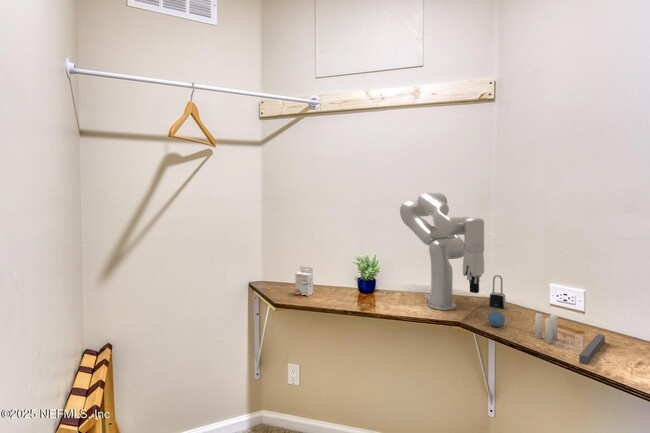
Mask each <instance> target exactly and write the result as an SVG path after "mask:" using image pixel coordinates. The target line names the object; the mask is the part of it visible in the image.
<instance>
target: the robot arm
mask: <svg viewBox="0 0 650 433" xmlns="http://www.w3.org/2000/svg"><path fill="white" fill-rule="evenodd" d="M449 212H450V209H449V206H448V199H447V197H446V195H445V194H444V193H441V192H423V193H422V194H420V195H418V198H417V200H408V201H405V202H403V203H402V204H401V205H400V208H399V214H400V218H401V220H402V222H403V224H405V225H406V226H407V227H408V228H409V230H411V231H412V232H413V233H414V234H415V236H417V238H418V239H419V240H420V241H421V242H422V243H423V244H424V245H425V246H428V252H429V258H430V273H431V274H430V294H429V293H424V299H425V300H428V302H427V306H428V307H429V308H430V309H433V310H439V311H451V310H455V309H456V308H457V305H456V303H454V302H453V266H452V264H451V262H450V260H454V259H456V260H457V259H461V258H463V259H462V276H464V277H466V280H468V282H469V292H470V293H473V294H479V293H480V281H481V280H480V278H481V277H482V276H483V274H484V273H485V257H484V256H485V255H484V253H485V220H484V219H482V218H479V217H478V218H477V217H474V218H473V217H467V216H464V217H463V216H458V217H457V216H456V217H449V216H447V215H448V214H449ZM429 215H430V216H431V217H432V221H433V225H431V224H430V223H429V222H428V221H427V220H426V219H424V218H423V217H430V216H429ZM462 235H464V237H463V238H464V240H463V239H462V238H461V237H460V236H462Z"/></svg>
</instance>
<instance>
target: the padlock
mask: <svg viewBox="0 0 650 433" xmlns="http://www.w3.org/2000/svg"><path fill="white" fill-rule="evenodd" d="M496 277H497V278H500V292H495V283H496V282H495V281H496ZM506 302H507V301H506V294H504V292H503V277H502V276H501V275H499V274H496V275H494V276H493V278H492V291H491V293H490V294H489V300H488V307H489V308H493V307H494V309H499V308H500V309H501V310H505V309H506V308H507V304H506Z"/></svg>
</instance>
